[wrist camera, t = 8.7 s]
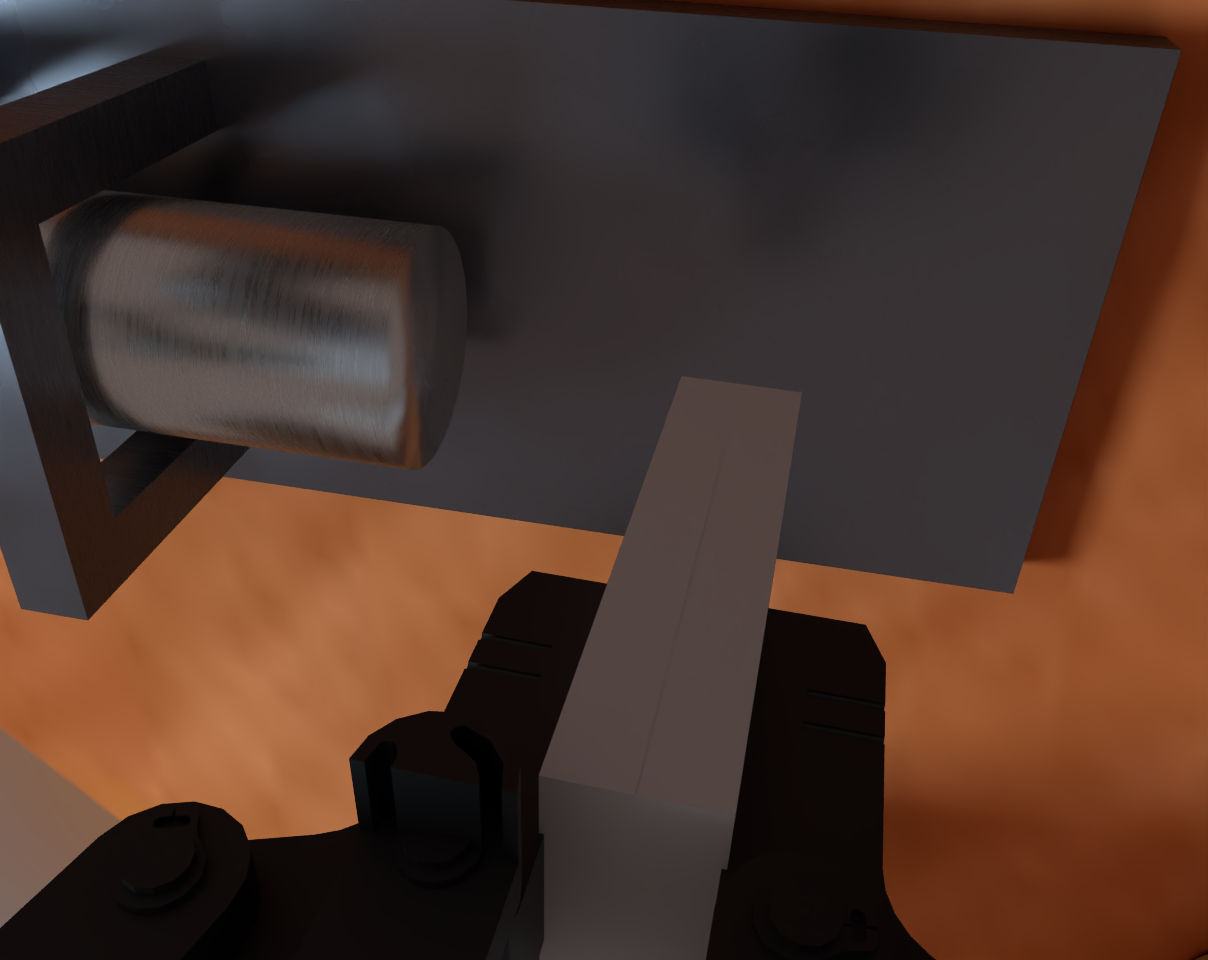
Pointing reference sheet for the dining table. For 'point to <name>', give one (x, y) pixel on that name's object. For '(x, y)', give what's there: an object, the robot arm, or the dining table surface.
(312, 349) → the tube
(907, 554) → the collar rail
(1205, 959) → the cup
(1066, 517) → the dining table surface
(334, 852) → the robot arm
